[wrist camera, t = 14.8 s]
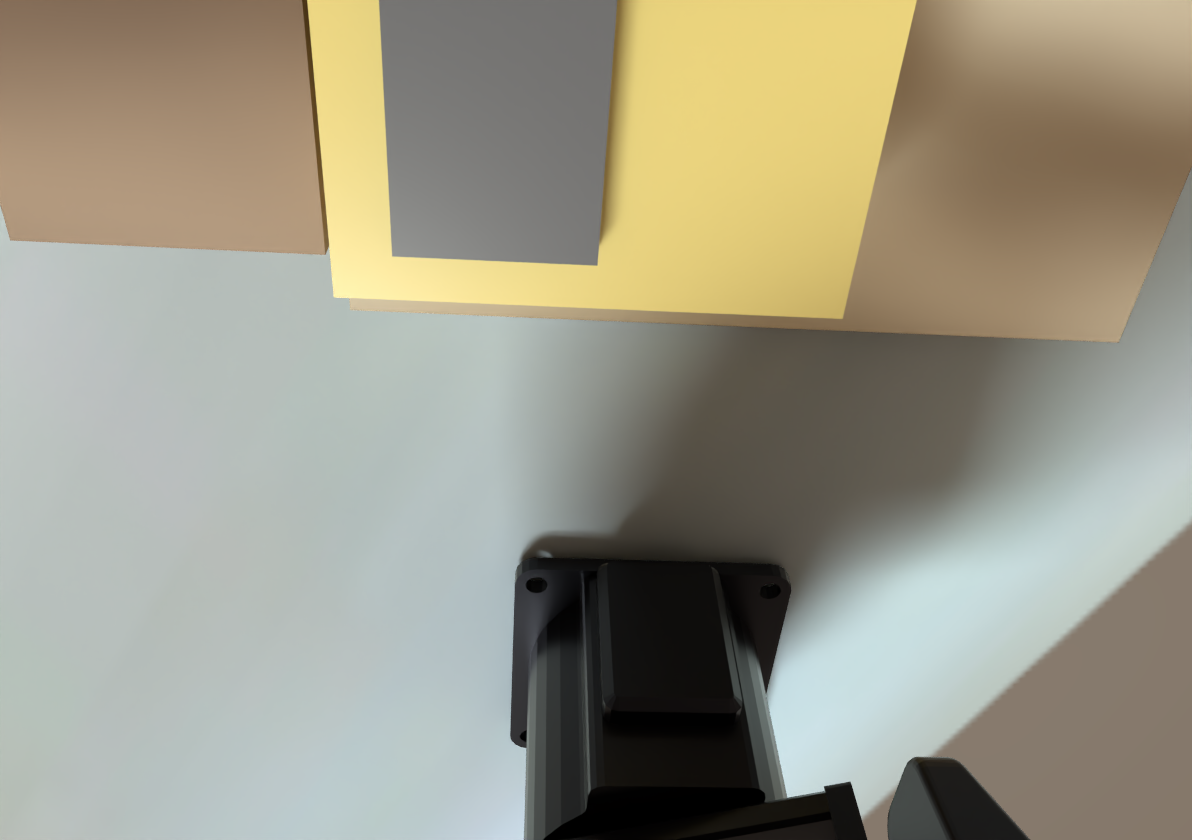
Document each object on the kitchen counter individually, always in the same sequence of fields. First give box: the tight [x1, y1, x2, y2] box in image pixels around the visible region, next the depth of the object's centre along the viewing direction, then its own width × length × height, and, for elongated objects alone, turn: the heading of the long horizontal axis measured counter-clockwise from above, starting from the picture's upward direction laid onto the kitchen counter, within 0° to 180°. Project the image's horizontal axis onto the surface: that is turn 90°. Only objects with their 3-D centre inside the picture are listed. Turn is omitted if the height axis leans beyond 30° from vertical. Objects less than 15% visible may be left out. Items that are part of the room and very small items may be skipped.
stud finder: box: [307, 0, 917, 319], centre depth 16 cm, size 6×8×4 cm
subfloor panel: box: [349, 0, 1192, 343], centre depth 18 cm, size 10×15×1 cm, turn 86°
